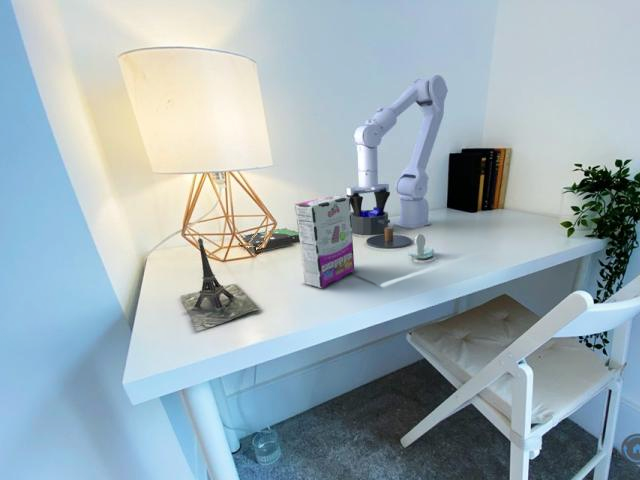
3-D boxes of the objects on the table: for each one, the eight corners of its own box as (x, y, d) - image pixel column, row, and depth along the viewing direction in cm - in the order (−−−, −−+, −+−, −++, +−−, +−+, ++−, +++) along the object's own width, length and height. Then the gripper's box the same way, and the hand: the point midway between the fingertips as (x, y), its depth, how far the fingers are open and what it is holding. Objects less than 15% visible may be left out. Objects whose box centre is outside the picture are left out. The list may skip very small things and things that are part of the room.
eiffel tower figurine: (261, 312, 58) (248, 236, 53) (197, 331, 52) (174, 248, 47) (235, 285, 69) (221, 220, 64) (178, 299, 63) (159, 228, 58)
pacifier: (442, 260, 82) (424, 254, 86) (444, 235, 80) (426, 230, 84) (420, 267, 78) (403, 260, 82) (422, 241, 75) (403, 235, 80)
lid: (391, 235, 103) (391, 220, 101) (420, 244, 94) (421, 228, 93) (357, 243, 96) (356, 227, 94) (386, 253, 87) (386, 236, 85)
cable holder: (373, 218, 110) (373, 206, 108) (381, 220, 108) (381, 207, 106) (355, 223, 104) (355, 210, 103) (364, 224, 102) (363, 211, 101)
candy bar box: (337, 268, 78) (332, 194, 71) (355, 272, 75) (351, 196, 69) (302, 284, 69) (293, 202, 62) (321, 289, 67) (313, 205, 60)
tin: (367, 224, 117) (367, 207, 114) (401, 234, 105) (401, 215, 102) (339, 230, 110) (338, 212, 108) (371, 241, 98) (371, 220, 96)
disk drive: (254, 254, 88) (304, 242, 97) (252, 244, 87) (302, 232, 96) (238, 246, 95) (285, 235, 104) (236, 236, 94) (284, 226, 103)
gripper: (355, 173, 93) (357, 222, 98) (395, 169, 101) (395, 215, 107) (341, 171, 98) (344, 218, 103) (380, 168, 106) (381, 212, 112)
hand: (369, 216), depth 105 cm, fingers closed on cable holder, 7 cm apart
